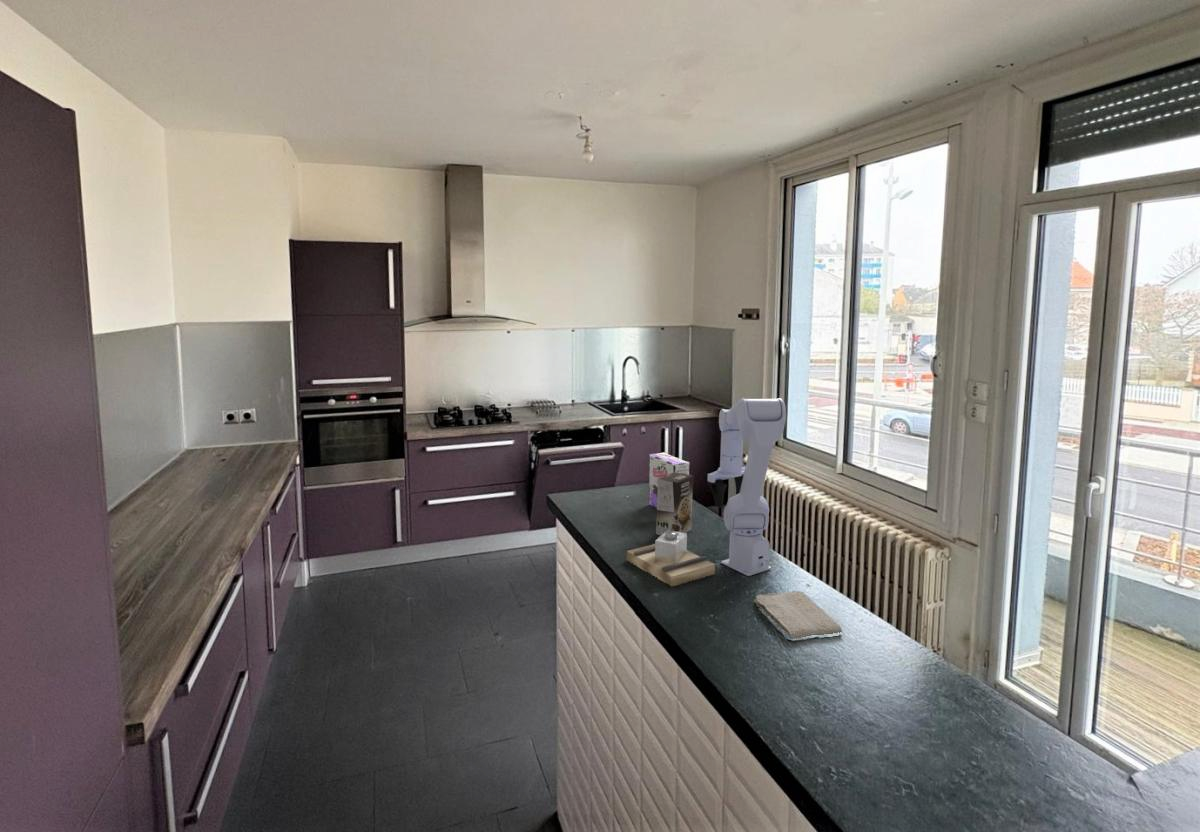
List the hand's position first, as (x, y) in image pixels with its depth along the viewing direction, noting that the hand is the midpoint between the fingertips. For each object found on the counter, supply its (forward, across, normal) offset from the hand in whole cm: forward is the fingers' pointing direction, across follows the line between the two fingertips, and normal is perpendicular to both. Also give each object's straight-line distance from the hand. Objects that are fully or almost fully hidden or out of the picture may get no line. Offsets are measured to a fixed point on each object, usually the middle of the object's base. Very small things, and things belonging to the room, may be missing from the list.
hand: (729, 504), depth 184 cm
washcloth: (+11, +19, +40) cm, 45 cm away
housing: (+8, +23, +5) cm, 25 cm away
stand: (+10, +24, +5) cm, 27 cm away
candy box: (+11, -3, -29) cm, 31 cm away
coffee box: (+11, +8, -13) cm, 19 cm away
